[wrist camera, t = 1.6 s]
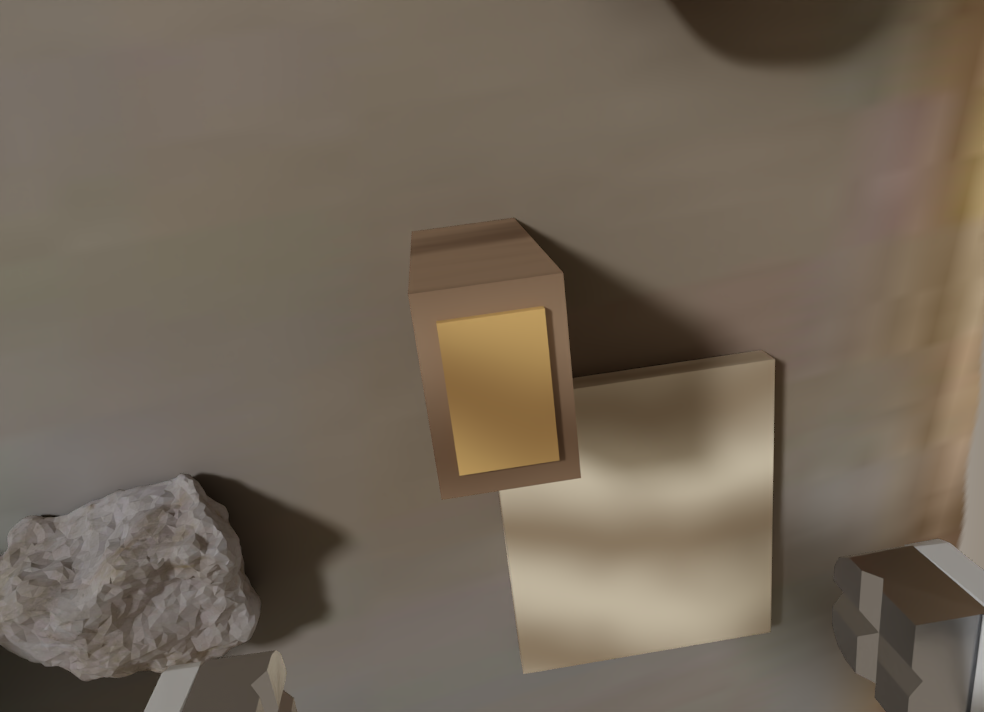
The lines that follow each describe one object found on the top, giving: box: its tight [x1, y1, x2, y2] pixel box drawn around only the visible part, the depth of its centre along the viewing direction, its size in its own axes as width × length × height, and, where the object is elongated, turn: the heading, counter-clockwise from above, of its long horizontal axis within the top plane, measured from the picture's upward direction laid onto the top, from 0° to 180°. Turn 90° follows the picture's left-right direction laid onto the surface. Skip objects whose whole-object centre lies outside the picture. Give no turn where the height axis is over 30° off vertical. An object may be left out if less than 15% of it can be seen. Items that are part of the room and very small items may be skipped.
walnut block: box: [408, 218, 581, 500], centre depth 24 cm, size 6×4×10 cm, turn 7°
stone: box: [0, 473, 261, 682], centre depth 28 cm, size 10×8×6 cm
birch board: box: [498, 350, 775, 674], centre depth 32 cm, size 14×12×1 cm
